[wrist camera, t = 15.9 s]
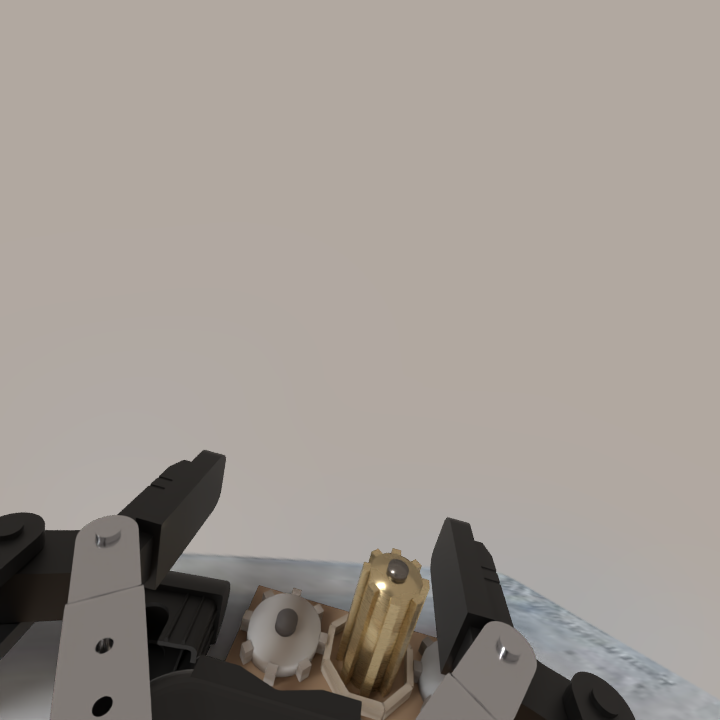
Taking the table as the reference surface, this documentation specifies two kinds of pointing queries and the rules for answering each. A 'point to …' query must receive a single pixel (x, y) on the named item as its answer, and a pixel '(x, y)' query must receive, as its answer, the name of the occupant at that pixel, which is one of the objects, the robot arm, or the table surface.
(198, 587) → the end cap
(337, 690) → the gear board
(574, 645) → the table surface
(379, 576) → the pinion
